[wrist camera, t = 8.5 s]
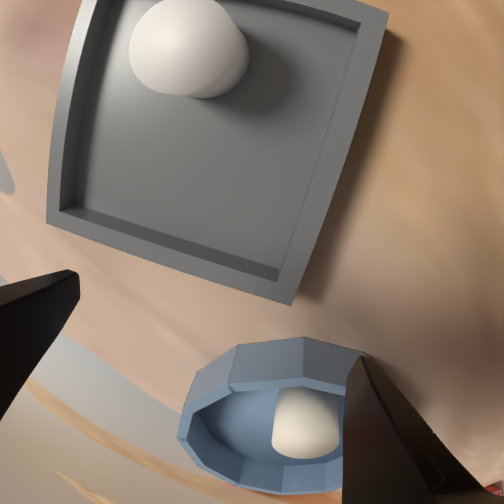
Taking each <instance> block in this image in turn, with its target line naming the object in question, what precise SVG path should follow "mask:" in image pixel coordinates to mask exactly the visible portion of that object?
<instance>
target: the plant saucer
mask: <svg viewBox="0 0 504 504" xmlns="http://www.w3.org/2000/svg"><path fill="white" fill-rule="evenodd" d="M484 488H485V489H486V490H488V491H489V492H491V493H493V494H496V495H500V496H502V490H501V489H499V488H497V487H494V486H490V485H489V486H486V487H484Z"/></svg>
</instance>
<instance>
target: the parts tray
mask: <svg viewBox="0 0 504 504" xmlns="http://www.w3.org/2000/svg"><path fill="white" fill-rule="evenodd" d="M161 1H163V0H83V1H82V4H81V7H80V10H79V13H78V16H77V19H76V22H75V26H74V29H73V32H72V36H71V40H70V43H69V47H68V51H67V55H66V59H65V63H64V68H63V72H62V77H61V82H60V87H59V92H58V97H57V103H56V109H55V115H54V122H53V129H52V137H51V146H50V156H49V168H48V183H47V209H46V223H47V224H50V225H52V226H55V227H58V228H60V229H63V230H66V231H68V232H71V233H74V234H76V235H79V236H82V237H84V238H87V239H90V240H93V241H95V242H98V243H101V244H104V245H106V246H109V247H112V248H115V249H118V250H120V251H123V252H126V253H129V254H132V255H135V256H137V257H140V258H143V259H146V260H149V261H152V262H155V263H158V264H161V265H164V266H167V267H170V268H173V269H176V270H178V271H181V272H184V273H188V274H191V275H194V276H197V277H200V278H203V279H206V280H209V281H212V282H215V283H218V284H221V285H224V286H228V287H231V288H234V289H237V290H240V291H243V292H247V293H250V294H253V295H256V296H260V297H263V298H266V299H269V300H273V301H276V302H279V303H283V304H286V305H289V306H291V304H292V302H293V299H294V297H295V294H296V292H297V289H298V287H299V284H300V282H301V279H302V277H303V274H304V272H305V269H306V267H307V264H308V262H309V259H310V256H311V254H312V251H313V249H314V246H315V243H316V241H317V238H318V235H319V233H320V230H321V227H322V225H323V222H324V219H325V216H326V214H327V211H328V208H329V205H330V203H331V200H332V197H333V194H334V192H335V189H336V186H337V183H338V180H339V177H340V174H341V171H342V169H343V166H344V163H345V160H346V157H347V154H348V151H349V148H350V145H351V142H352V139H353V136H354V133H355V130H356V126H357V123H358V120H359V117H360V114H361V111H362V108H363V104H364V101H365V98H366V95H367V91H368V88H369V85H370V81H371V78H372V75H373V71H374V68H375V64H376V61H377V57H378V54H379V50H380V47H381V43H382V39H383V36H384V32H385V28H386V24H387V21H388V17H389V13H388V12H385V11H383V10H380V9H378V8H375V7H372V6H370V5H367V4H364V3H361V2H359V1H356V0H214V1H215V2H217V3H218V4H220V5H221V6H222V7H223V8H224V9H225V11H226V12H227V13H228V14H229V16H230V17H231V18H232V20H233V21H234V23H235V24H236V25H237V27H238V28H239V29H240V31H241V32H242V34H243V35H244V36H245V38H246V40H247V42H248V45H249V49H250V61H249V66H248V69H247V71H246V73H245V75H244V77H243V78H242V80H241V81H240V82H239V83H238V84H237V85H236V86H235V87H234V88H233V89H231V90H230V91H228V92H227V93H225V94H223V95H220V96H217V97H213V98H206V99H202V98H194V97H187V96H180V95H173V94H165V93H160V92H157V91H154V90H152V89H150V88H148V87H147V86H145V85H144V84H143V83H142V82H141V81H140V80H139V79H138V78H137V77H136V75H135V74H134V72H133V70H132V68H131V64H130V61H129V42H130V38H131V35H132V32H133V30H134V28H135V26H136V24H137V23H138V21H139V20H140V19H141V17H142V16H143V15H144V14H145V13H146V12H147V11H148V10H149V9H150V8H152V7H153V6H154V5H156V4H157V3H159V2H161Z"/></svg>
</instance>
